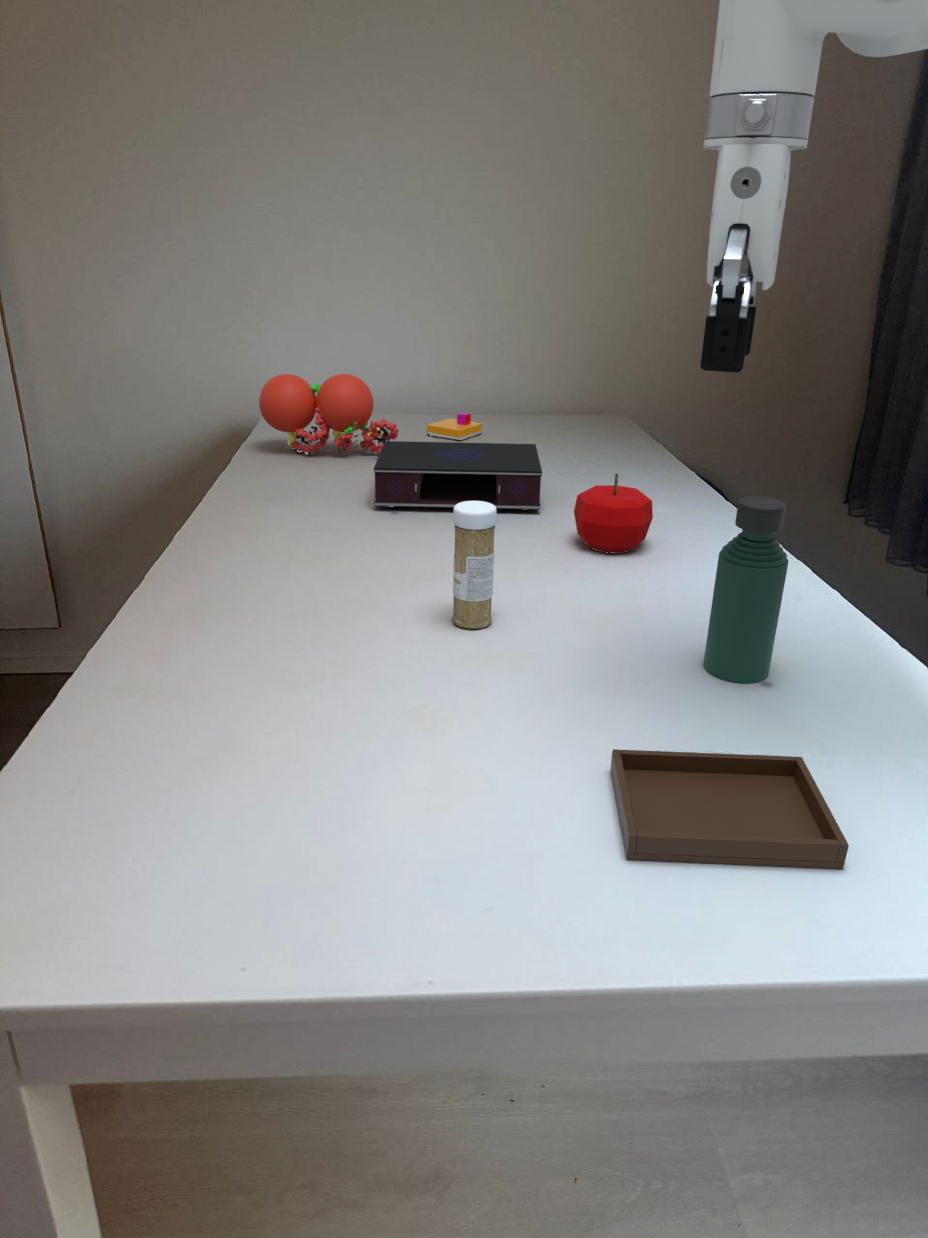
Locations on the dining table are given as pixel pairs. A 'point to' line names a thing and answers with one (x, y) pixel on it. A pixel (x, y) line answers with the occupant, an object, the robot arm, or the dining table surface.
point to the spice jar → (473, 563)
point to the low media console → (457, 474)
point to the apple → (613, 517)
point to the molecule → (323, 411)
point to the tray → (724, 810)
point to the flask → (745, 608)
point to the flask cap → (760, 514)
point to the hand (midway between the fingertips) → (726, 361)
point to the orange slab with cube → (455, 426)
